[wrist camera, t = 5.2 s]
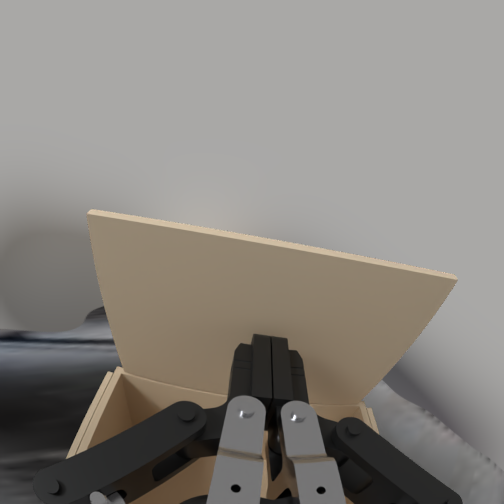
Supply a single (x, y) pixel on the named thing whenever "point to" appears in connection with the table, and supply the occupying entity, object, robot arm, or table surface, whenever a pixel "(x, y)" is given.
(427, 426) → the table surface
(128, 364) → the long flap
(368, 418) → the carton
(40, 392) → the table surface
